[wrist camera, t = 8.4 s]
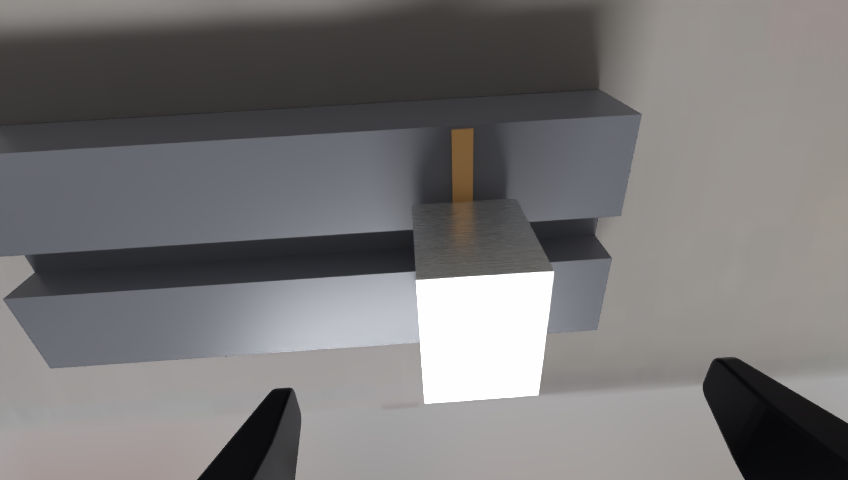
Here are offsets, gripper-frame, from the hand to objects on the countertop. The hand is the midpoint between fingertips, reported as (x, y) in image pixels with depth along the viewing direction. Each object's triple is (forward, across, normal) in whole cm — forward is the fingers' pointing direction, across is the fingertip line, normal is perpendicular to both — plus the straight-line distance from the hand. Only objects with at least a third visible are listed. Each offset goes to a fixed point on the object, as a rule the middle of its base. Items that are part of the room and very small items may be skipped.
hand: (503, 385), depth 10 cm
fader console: (+9, +5, 0) cm, 10 cm away
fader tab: (+7, 0, 0) cm, 7 cm away
